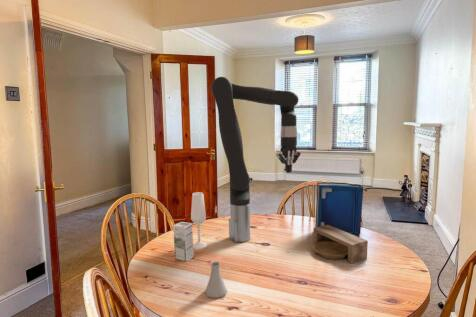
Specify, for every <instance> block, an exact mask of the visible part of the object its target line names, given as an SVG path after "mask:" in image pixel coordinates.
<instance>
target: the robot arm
mask: <svg viewBox="0 0 476 317" xmlns="http://www.w3.org/2000/svg"><path fill="white" fill-rule="evenodd" d="M210 90H211V91H210V92H211V94H212V95H213V97H214V100H215V104H216V108H217V113H218V128H219V133H220V134H219V135H220V139H221V144H222V147H223V151H224V154H225V157H226V159H227V165H228V173H229V174H228V175H229V204H230V205H229V206H230V207H229V208H230V210H229V211H230V212H229V213H230V214H229V215H230V218H228V239H230V240H231V241H232V242H234V243H244V242H248V241H249V240H250V239H251V203H250V200H251V196H250V182H251V179H250V175H249V173H248V169H247V166H246V163H245V158H244V148H243V147H244V145H243V139H242V133H241V132H242V131H241V126H240V123H239V120H238V116H237V113H236V109H235V104H234V100H239V101H240V100H242V101H246V102H247V101H248V102H251V103H258V104H262V105H263V104H264V105H269V106H273V105H274V106H276V105H277V106H279V109H280V116H281V118H280V120H281V121H280V123H281V124H280V151H279V152H278V153H275V154H276V157H277V159H278V160H279V161H280V163H281V164H283V165H284V166H285V167H284V169H285V170H284V171H285V173H287V174H289V173H292V171H293V164H295V163H297V161H298V160H299V157H300V156H301V152H299V151H298V149H297V145H298V128H297V114H296V113H295V107H296V106H297V105H298V103H299V96H298V94H297V93H295V92H294V91H289V90H276V89H272V88H265V87H261V86H260V87H259V86H246V85H239V84H238V85H237V84H235V83H232V82H231V81H230V80H229V79H228V78H227V77H225V76H219V77H216V78H215V79H214V80H213V82H211V86H210Z"/></svg>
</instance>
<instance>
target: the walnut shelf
mask: <svg viewBox="0 0 476 317" xmlns="http://www.w3.org/2000/svg"><path fill="white" fill-rule="evenodd" d="M312 235H313V240H312V241H313V245H314V244H316V243H318V242H322V241H333V242H338V243H341V244H343V245H345V246H348V254H347V262H348V263H350V264H354V263H358V262H361V261H363V260H367V259H368V243H369V242H368V240H367V239H365V238H362V237H361V236H360V237H359V236H358V235H352V234H350V233H347V232H345V231H342V230H340V229H337V228H335V227H332V226H330V225H324V226H320V227H316V228H315V227H313V234H312Z"/></svg>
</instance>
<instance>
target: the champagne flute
mask: <svg viewBox="0 0 476 317" xmlns="http://www.w3.org/2000/svg"><path fill="white" fill-rule="evenodd" d="M191 195H192V196H191V197H192V198H191V209H190V210H191V211H190V212H191V213H190V219H191V221H192V223H193V224H195V225H196V226H197V242H195V243H193V249H197V250H198V249H200V250H201V249H204V248H206V247H207V246H208V245H207V244H206V243H205V242H203V241H201V225H202V224H203V223H205V220H206V219H207V214H206V213H207V212H206V206H205V196H204V192H201V191H200V192H199V191H198V192H197V191H196V192H193V193H192V194H191Z"/></svg>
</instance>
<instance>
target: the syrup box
mask: <svg viewBox="0 0 476 317" xmlns="http://www.w3.org/2000/svg"><path fill="white" fill-rule="evenodd" d="M193 235H194V232H193V222H186V221H185V222H184V221H180V222H178V223H177V222H176V223H175V224H174V225H173V244H174V260H178V261H181V262H188V261H189V260H191V259H192V258H193V257H194V248H193V244H194V237H193Z"/></svg>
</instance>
